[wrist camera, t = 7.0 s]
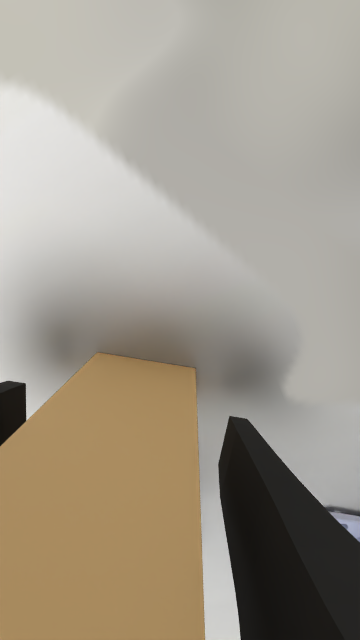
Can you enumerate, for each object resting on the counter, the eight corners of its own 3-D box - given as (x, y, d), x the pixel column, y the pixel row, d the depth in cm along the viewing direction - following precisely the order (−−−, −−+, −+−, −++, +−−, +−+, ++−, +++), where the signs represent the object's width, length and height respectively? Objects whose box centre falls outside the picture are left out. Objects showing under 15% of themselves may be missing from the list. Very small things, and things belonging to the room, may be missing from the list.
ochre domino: (195, 368, 11) (208, 730, 3) (188, 404, 12) (180, 810, 3) (97, 352, 11) (-217, 656, 3) (94, 389, 12) (-177, 746, 3)
